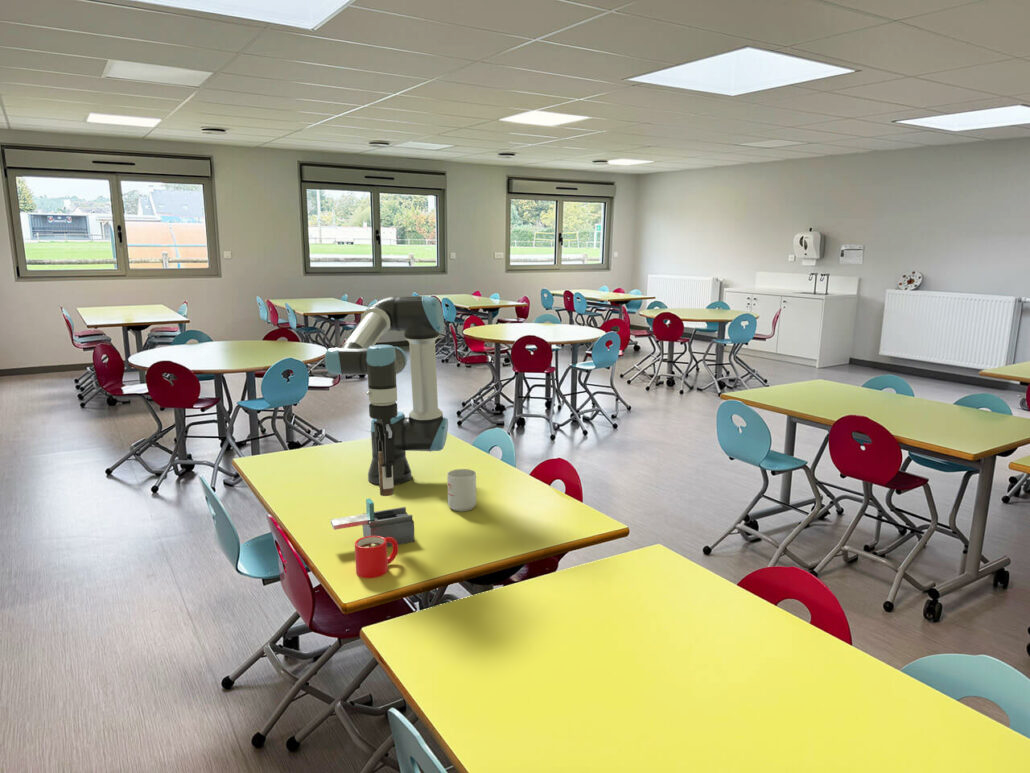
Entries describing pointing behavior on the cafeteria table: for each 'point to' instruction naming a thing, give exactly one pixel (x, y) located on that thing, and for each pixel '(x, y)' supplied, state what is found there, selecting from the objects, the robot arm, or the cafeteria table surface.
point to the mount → (391, 525)
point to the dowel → (382, 491)
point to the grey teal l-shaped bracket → (355, 518)
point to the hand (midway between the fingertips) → (386, 485)
